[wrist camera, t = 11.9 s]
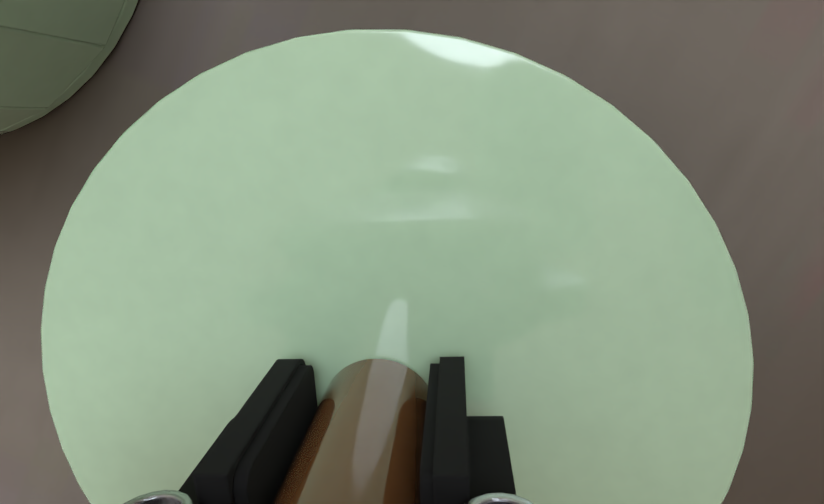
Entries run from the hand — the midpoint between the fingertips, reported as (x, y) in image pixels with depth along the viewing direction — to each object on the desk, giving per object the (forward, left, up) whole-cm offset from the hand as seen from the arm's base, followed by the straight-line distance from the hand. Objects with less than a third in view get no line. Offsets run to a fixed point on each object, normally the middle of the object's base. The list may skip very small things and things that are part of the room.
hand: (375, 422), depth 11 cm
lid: (0, 0, -1) cm, 1 cm away
